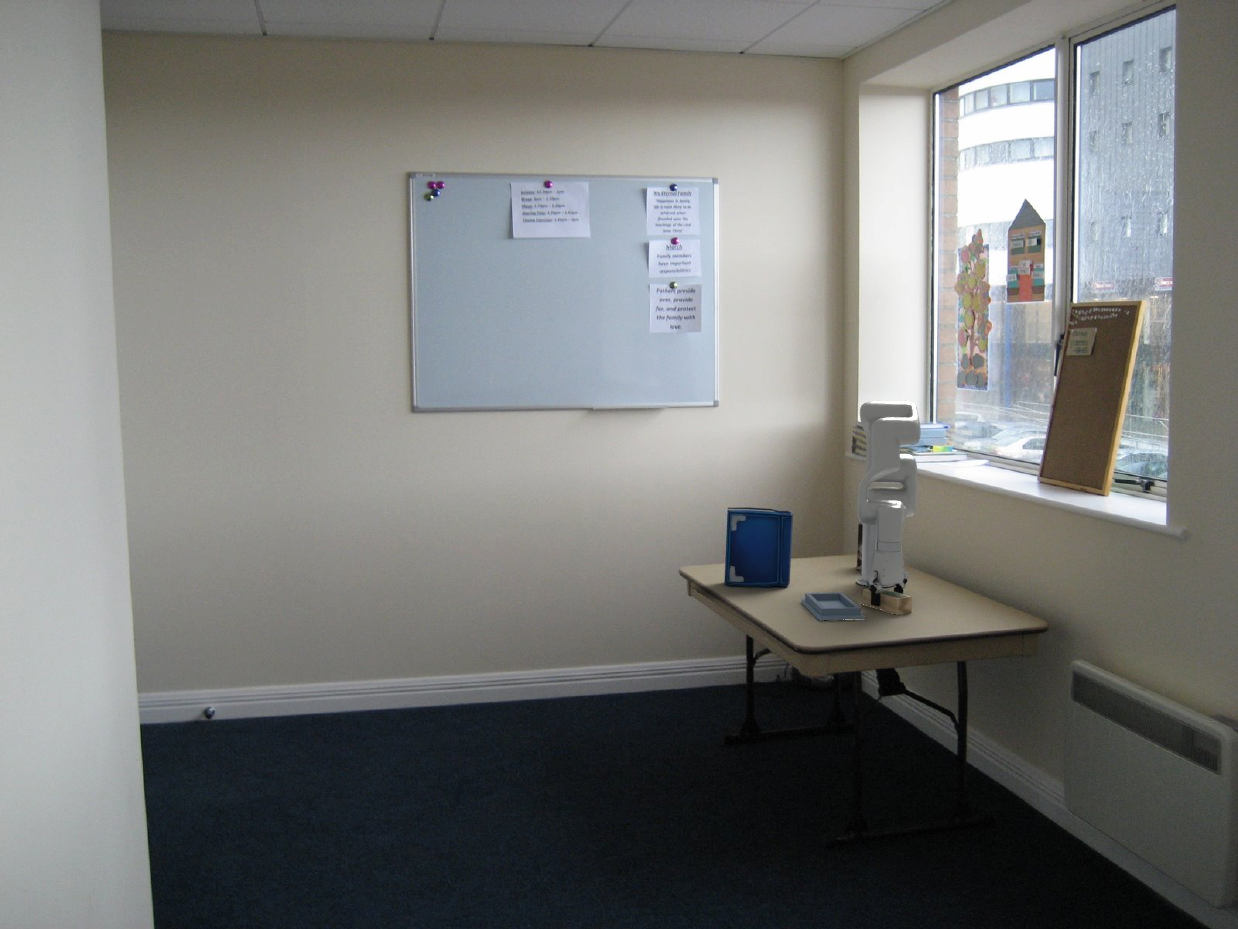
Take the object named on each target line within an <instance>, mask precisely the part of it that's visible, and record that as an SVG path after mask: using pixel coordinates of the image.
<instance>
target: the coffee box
mask: <svg viewBox="0 0 1238 929" xmlns="http://www.w3.org/2000/svg"><path fill="white" fill-rule="evenodd" d="M857 527H858V528H857V529H858V530H857V549H856V550H857V553H856V554H857V555H856V556H857V557H856V570H857V569H859V571H862V538H863V524H862V523H861V522H860V521H859V523H858V526H857Z"/></svg>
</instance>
